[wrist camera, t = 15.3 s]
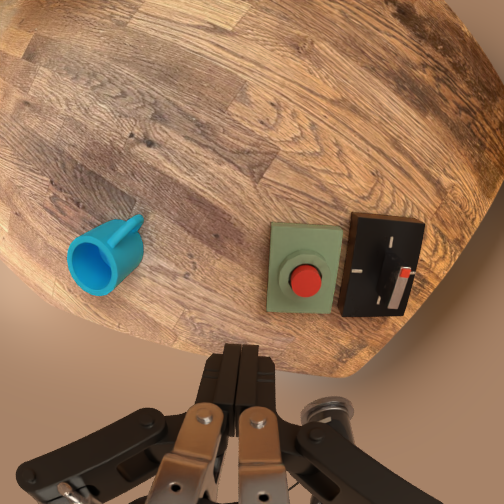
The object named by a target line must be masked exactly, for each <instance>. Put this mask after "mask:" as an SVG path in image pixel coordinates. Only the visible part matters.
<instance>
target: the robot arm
mask: <svg viewBox="0 0 504 504" xmlns="http://www.w3.org/2000/svg"><path fill="white" fill-rule="evenodd" d="M258 348H259V345H245V344H243V345H241V344H228V343H225V346H224V351H223V354H214V353H213V354H212V355H211V356H210V357H209V358H208V359H207V360H206V364H205V367H204V371H203V375H202V379H201V382H200V386H199V390H198V394H197V398H196V401H195V404H194V405H193V406H192V407H190V408H189V409H188V411H187V412H185V413H183V414H179V415H171V416H164V415H163V414H162V413H161V412H160V411H158V410H157V409H154V408H142V409H139V410H137V411H135V412H133V413H131V414H129V415H128V416H126V417H124V418H122V419H120V420H118V421H116V422H114V423H112V424H110V425H108V426H106V427H104V428H102V429H100V430H98V431H96V432H94V433H92V434H90V435H88V436H85V437H83V438H82V439H79V440H77V441H75V442H72V443H70V444H68V445H66V446H64V447H61V448H59V449H57V450H54V451H52V452H50V453H47V454H45V455H42V456H40V457H37V458H35V459H32V460H30V461H27V462H24V463H23V464H21V465H20V466H19V467H18V469H17V471H16V480H17V483H18V484H19V486H20V487H21V488H22V489H23V490H24V491H26V492H27V493H28V494H30V495H31V496H32V497H33V498H34V499H35V500H36V501H37V502H38V504H103V503H105V502H107V501H109V500H111V499H113V498H115V497H117V496H119V495H121V494H123V493H125V492H127V491H128V490H130V489H132V488H134V487H136V486H138V485H139V484H141V483H143V482H145V481H146V480H148V479H150V478H151V477H153V476H155V475H156V476H155V479H154V481H153V484H152V486H151V489H150V491H149V494H148V495H147V496H144V497H141V498H138V499H136V500H134V501H132V502H131V503H129V504H220V503H216V500H217V492H218V485H219V480H220V476H221V472H222V468H223V464H224V459H225V455H226V449H227V445H228V438H229V436H230V437H234V435H235V426H236V437H239V466H238V467H239V468H238V470H239V471H238V484H239V487H238V488H239V489H238V490H239V491H238V492H239V493H238V494H239V502H234V503H225V504H290V502H289V493H288V491H289V490H291V489H292V488H293V487H295V486H296V485H298V484H299V483H300V484H301V485H302V486H303V487H304V488H305V489H307V490H308V491H309V492H310V493H311V494H312V496H311V499H310V504H443V503H442V502H441V501H439V500H437V499H435V498H434V497H432V496H430V495H428V494H427V493H425V492H423V491H422V490H420V489H418V488H417V487H415V486H414V485H412V484H411V483H409V482H407V481H406V480H404V479H403V478H401V477H400V476H398V475H397V474H395V473H393V472H392V471H391V470H389V469H387V468H386V467H385V466H383V465H382V464H380V463H379V462H378V461H376V460H375V459H373V458H372V457H370V456H369V455H368V454H366V453H365V452H363V451H362V450H361V449H359V448H358V447H357V446H355V441H354V437H353V432H352V428H351V423H350V419H349V413H348V410H347V409H346V408H344V407H342V406H326V407H322V408H319V409H317V410H315V411H314V412H312V413H311V414H310V415H309V416H308V418H307V423H306V424H304V425H303V426H298V425H295V424H291V423H288V422H286V421H284V420H282V419H281V418H280V417H279V415H278V414H277V412H276V404H275V403H276V402H275V364H274V363H273V361H272V359H271V358H270V357H263V356H258ZM286 471H288V472H289V473H290V475H291V476H292V477H293V478H295V479H296V480H297V481H298V482H297V483H296V484H294V485H293V486H292V487H290V488H289V489H288V484H287V477H286Z"/></svg>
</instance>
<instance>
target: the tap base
mask: <svg viewBox="0 0 504 504" xmlns="http://www.w3.org/2000/svg"><path fill="white" fill-rule="evenodd" d="M424 229H425V223H423V222H421V221H419V220H417V219H415V218H407V217H397V216H388V215H378V214H367V213H356V212H352V215H351V224H350V232H349V240H348V247H347V254H346V260H345V267H344V273H343V279H342V285H341V290H340V296H339V301H338V308H339V311H340V313H341V316H342V317H384V316H404V312H405V309H406V306H407V302H408V299H409V295H410V292H411V288H412V284H413V280H414V276H415V272H416V268H417V263H418V259H419V254H420V250H421V245H422V240H423V234H424ZM386 252H389V253H395V254H396V255H397V256H399V257H400V258H401V259H402V260H403V261H404V262H405V263H406V264H407V265H409V266H410V267H411V272H410V275H409V278H408V280H407V283H406V286H405V289H404V292H403V295H402V298H401V301H400V304H399V306H398V309H390V308H387V307H386V305H385V304H384V302H383V301H382V299H381V298H380V296H379V295H378V293H377V292H376V291H375V289H376V285H377V282H378V279H379V275H380V272H381V268H382V265H383V261H384V257H385V254H386Z"/></svg>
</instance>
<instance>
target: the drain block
mask: <svg viewBox="0 0 504 504" xmlns="http://www.w3.org/2000/svg"><path fill="white" fill-rule="evenodd" d="M342 237H343V230H342V229H341V228H340V227H339V226H330V225H314V224H297V223H279V222H271V236H270V254H269V271H268V288H267V303H266V311H267V312H286V313H321V314H330V313H331V307H332V302H333V296H334V291H335V285H336V279H337V272H338V266H339V259H340V252H341V245H342ZM301 265H310V266H313V267H314V268H316V270H317V271H318V273H319V276H320V278H321V288H320V290H319V291H318V292H317V293H316V294H315V295H313V296H311V297H300V296H298V295H297V294H295V293H294V291H293V289H292V285H291V274H292V272H293V271H294V270H295V269H296V268H297V267H299V266H301Z"/></svg>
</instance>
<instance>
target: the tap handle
mask: <svg viewBox="0 0 504 504" xmlns="http://www.w3.org/2000/svg"><path fill="white" fill-rule="evenodd" d="M410 272H411V267H410V266H409V265H407V264H406V263H405V262H404V261H403V260H402V259H401V258H400V257H399V256H397V255H396V254H395V253H389V252H386V254H385V257H384V261H383V265H382V268H381V272H380V275H379V279H378V282H377V285H376V289H375V291H376V292H377V293H378V295H379V296H380V298H381V299H382V301H383V302H384V304H385V305H386V307H387V308H390V309H398V306H399V304H400V301H401V298H402V295H403V292H404V289H405V286H406V283H407V280H408V278H409V275H410Z"/></svg>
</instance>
